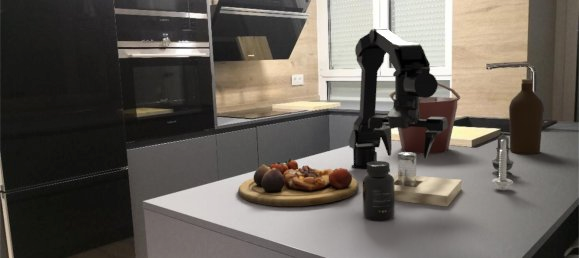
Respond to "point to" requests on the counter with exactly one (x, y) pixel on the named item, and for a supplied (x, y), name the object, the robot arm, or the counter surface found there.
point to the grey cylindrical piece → (407, 169)
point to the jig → (428, 190)
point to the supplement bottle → (378, 192)
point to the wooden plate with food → (297, 185)
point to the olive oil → (525, 120)
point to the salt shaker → (497, 161)
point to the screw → (502, 169)
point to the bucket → (415, 136)
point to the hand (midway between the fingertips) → (407, 156)
